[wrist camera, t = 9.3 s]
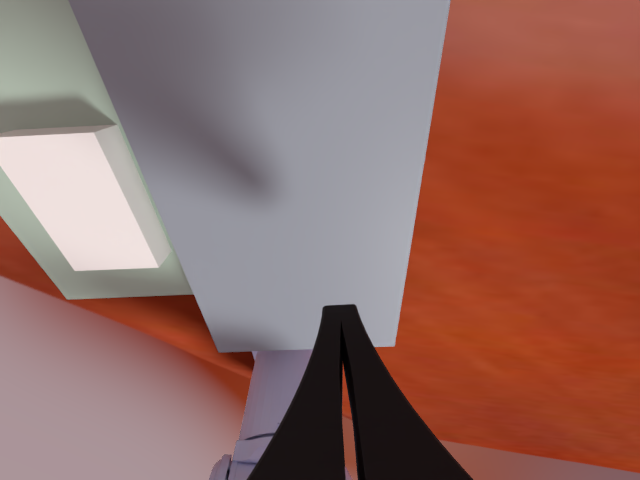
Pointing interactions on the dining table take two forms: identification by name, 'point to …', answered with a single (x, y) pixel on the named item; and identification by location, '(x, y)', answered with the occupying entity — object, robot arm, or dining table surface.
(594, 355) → the dining table surface
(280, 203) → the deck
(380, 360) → the robot arm
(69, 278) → the mat
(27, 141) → the pale pink block
